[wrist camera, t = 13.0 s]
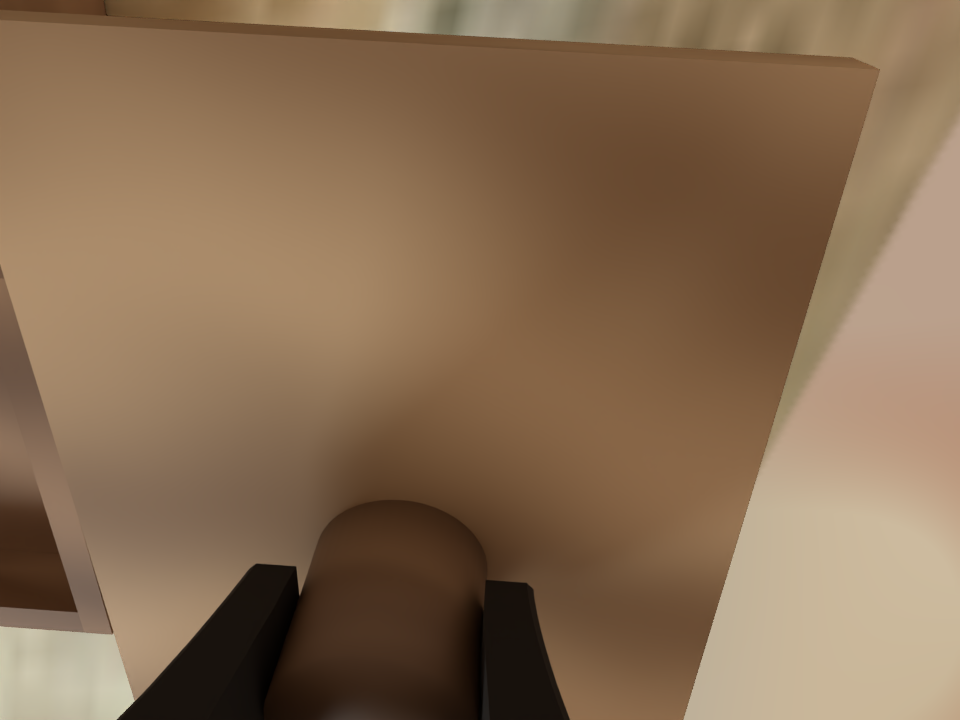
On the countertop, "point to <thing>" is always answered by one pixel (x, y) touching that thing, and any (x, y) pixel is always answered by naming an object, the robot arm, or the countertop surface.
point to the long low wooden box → (39, 477)
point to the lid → (414, 334)
